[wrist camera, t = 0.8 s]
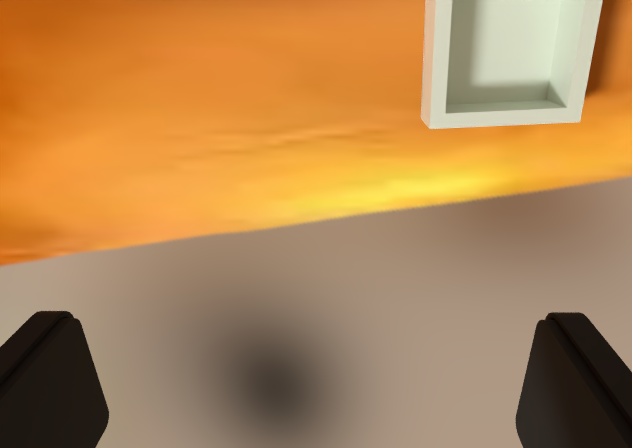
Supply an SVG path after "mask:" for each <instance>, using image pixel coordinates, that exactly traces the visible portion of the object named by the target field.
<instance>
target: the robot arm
mask: <svg viewBox="0 0 632 448" xmlns="http://www.w3.org/2000/svg"><path fill="white" fill-rule="evenodd" d="M108 419H109V411H108V407H107V404H106V401H105V398H104V394H103V391H102V388H101V385H100V382H99V379H98V376H97V372H96V369H95V366H94V363H93V360H92V357H91V354H90V350H89V347H88V344H87V341H86V338H85V335H84V332H83V329H82V325H81V323H80V321H79V320H78V319H75V318H74V317H73V315H72V314H71V313H70V312H67V311H40V312H36V313H35V314H34V315H32V316H31V317H30V318H29V319H28V320H27V321H26V322H25V323H24V324H23V325H22V326H21V327H20V328H19V329H18V330H17V331H16V332H15V333H14V334H13V335H12V336H11V337H10V338H9V339H8V340H7V341H6V342H5V343H4V344H3V345H2V346H1V347H0V448H95V447H96V445H97V444H98V441H99V440H100V438H101V436H102V434H103V433H104V431H105V429H106V427H107V424H108ZM516 429H517V433H518V436H519V438H520V441H521V443H522V445H523V448H632V372H631V371H630V369H629V368H628V367H627V366H626V365H625V363H624V362H623V361H622V359H621V358H620V357H619V356H618V355H617V353H616V352H615V351H614V350H613V349H612V347H611V346H610V345H609V344H608V342H607V341H606V340H605V339H604V337H603V336H602V335H601V334H600V332H599V331H598V330H597V329H596V328H595V326H594V325H593V324H592V323H591V322H590V320H589V319H588V318H587V317H586V316H585V315H584V314H582V313H549V314H548V315H547V316H546V319H545V320H540V321H539V322H538V323H537V326H536V330H535V335H534V339H533V343H532V348H531V352H530V357H529V361H528V365H527V370H526V374H525V379H524V383H523V387H522V392H521V396H520V401H519V405H518V410H517V414H516Z"/></svg>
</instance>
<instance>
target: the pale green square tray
mask: <svg viewBox="0 0 632 448" xmlns="http://www.w3.org/2000/svg"><path fill="white" fill-rule="evenodd" d="M602 1H603V0H426V1H425V26H424V51H423V76H422V101H421V119H422V120H423V121H424V123H425V124H426V125H427V126H428V128H429V129H440V128H462V127H484V126H506V125H528V124H550V123H571V122H580V119H581V114H582V108H583V103H584V98H585V92H586V87H587V82H588V76H589V71H590V66H591V60H592V55H593V50H594V44H595V39H596V34H597V28H598V23H599V17H600V12H601V7H602Z"/></svg>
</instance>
